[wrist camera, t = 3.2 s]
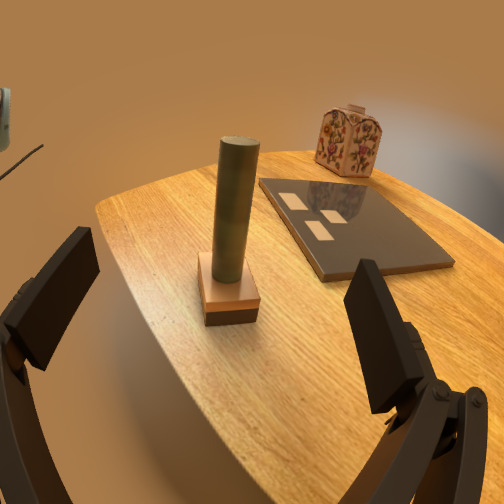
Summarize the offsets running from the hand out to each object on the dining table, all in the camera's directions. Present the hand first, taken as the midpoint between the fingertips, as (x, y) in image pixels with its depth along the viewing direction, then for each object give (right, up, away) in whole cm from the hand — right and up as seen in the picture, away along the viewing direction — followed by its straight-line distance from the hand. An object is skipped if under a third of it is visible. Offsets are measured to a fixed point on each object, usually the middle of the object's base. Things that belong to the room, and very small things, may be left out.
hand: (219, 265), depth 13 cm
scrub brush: (-1, -4, +14) cm, 15 cm away
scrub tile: (+19, +6, +32) cm, 38 cm away
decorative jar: (+25, +22, +58) cm, 67 cm away
